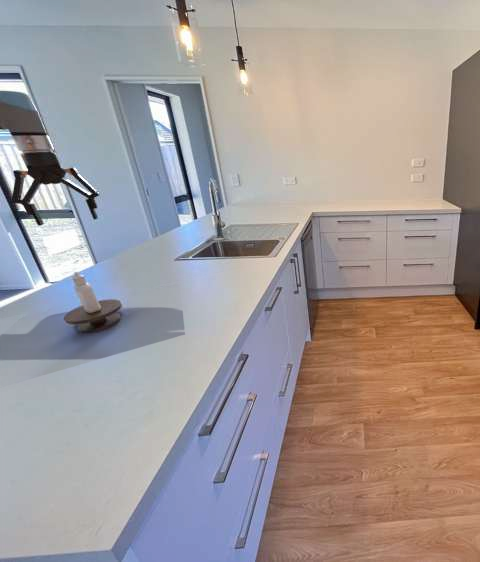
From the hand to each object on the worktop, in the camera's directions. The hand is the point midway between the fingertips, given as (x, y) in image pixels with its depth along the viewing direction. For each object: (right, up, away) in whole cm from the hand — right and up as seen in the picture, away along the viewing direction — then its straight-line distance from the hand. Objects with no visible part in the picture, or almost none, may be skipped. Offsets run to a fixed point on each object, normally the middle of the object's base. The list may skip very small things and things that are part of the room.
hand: (69, 221), depth 99 cm
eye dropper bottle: (+18, -28, -10) cm, 35 cm away
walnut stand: (+18, -33, -8) cm, 38 cm away
